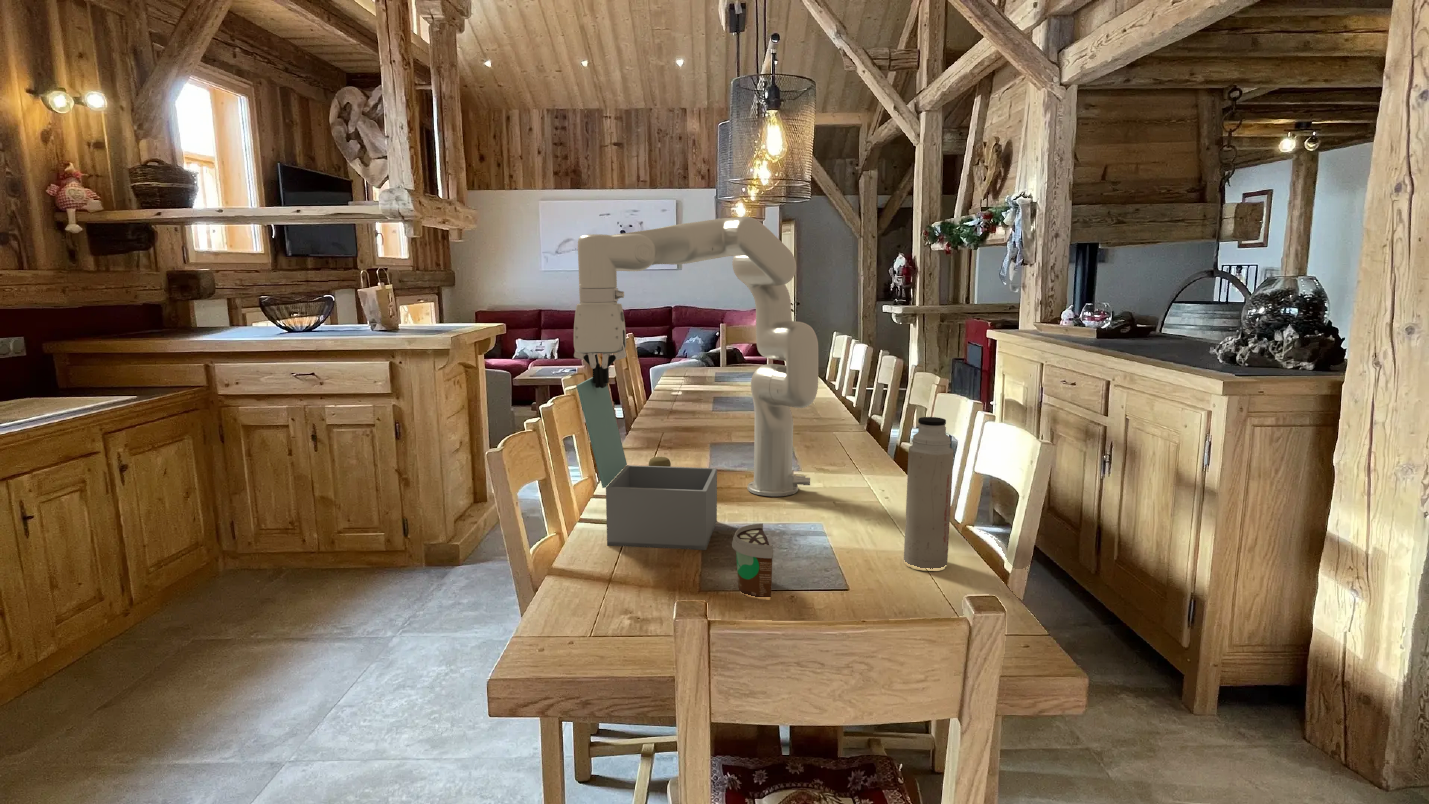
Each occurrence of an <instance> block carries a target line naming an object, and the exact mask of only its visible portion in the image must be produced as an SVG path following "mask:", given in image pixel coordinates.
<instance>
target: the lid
mask: <svg viewBox="0 0 1429 804" xmlns="http://www.w3.org/2000/svg"><path fill="white" fill-rule="evenodd" d="M576 389H577V394H578V397H579V401H580V405H581V409H582V413H583V416H584V421H585V425H586V429H587V432H588V433H587V434H588V436H589V440H590V441H589V442H590V444H591V448H592V453H593V456H594V459H595V463H596V469H597V473H598V475H599V480H600V484H601V487H602V489H606V487H607V486H608V485H609V484H610V483H611V482H612V481H613V479H614V478H615V477H616V476H617V475H618V474H619V473H620V472H621V471H622V470H623V469H624V468H625V467H626V466H627V465H628V463H627V458H626V455H625V450H624V447H623V442H622V439H621V435H620V431H619V426H618V423H617V418H616V414H615V409H614V407H613V402H612V399H611V395H610V391H609V387H608V385H607V386H606V387H604V388H601V387H599V388H596V387H595V383H593V376H592V377H590V378H588V379H586V380H584V381H582V382H580V383H578V384H577V385H576Z"/></svg>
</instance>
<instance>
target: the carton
mask: <svg viewBox="0 0 1429 804" xmlns="http://www.w3.org/2000/svg"><path fill="white" fill-rule="evenodd" d="M605 505H606V507H605V508H606V509H605V510H606V511H605V512H606V515H605V516H606V545H607V546H609V547H632V548H651V549H652V548H654V549H673V550H674V549H675V550H695V551H698V550H699V551H706V550H707V548H708V545H709V544H710V541H711V538H712V534H713V532H714V529H715V527H716V524H717V523H718V512H717V511H718V468H715V467H692V466H690V467H689V466H670V467H666V466H649V465H631V464H629V465H628V464H627V465H626V466H625V467H624V468H623V469H622V470H621V472H620V473H619V474H618V475H617V476H616V477H615V478H614V479H613V480H612V481H611V482H610V483H609V484H608V485H607V487H606V488H605Z"/></svg>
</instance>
